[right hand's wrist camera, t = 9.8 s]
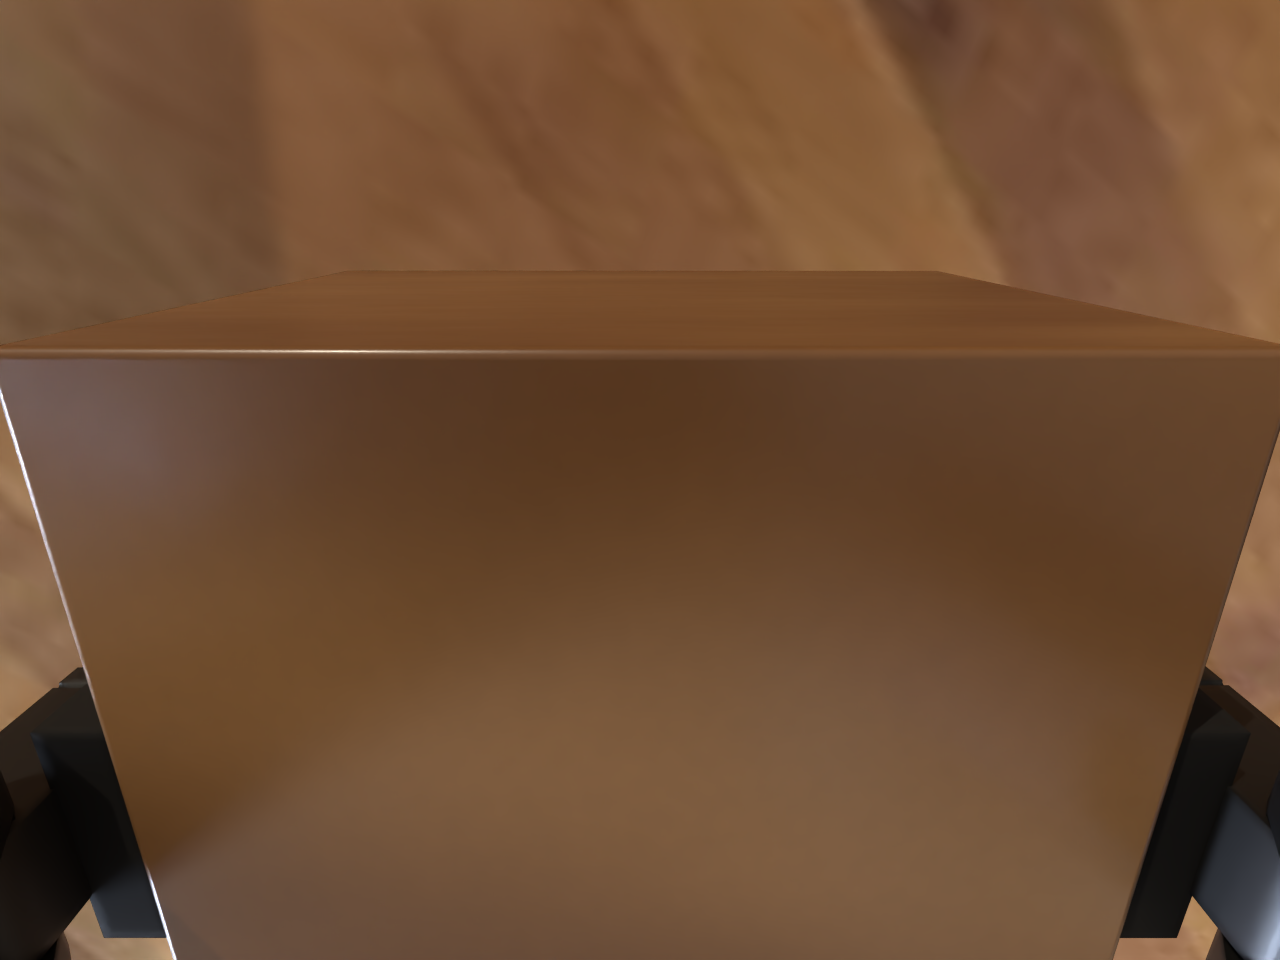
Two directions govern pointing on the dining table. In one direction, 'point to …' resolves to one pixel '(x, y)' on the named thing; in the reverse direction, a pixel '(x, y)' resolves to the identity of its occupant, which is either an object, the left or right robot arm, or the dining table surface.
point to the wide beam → (643, 606)
